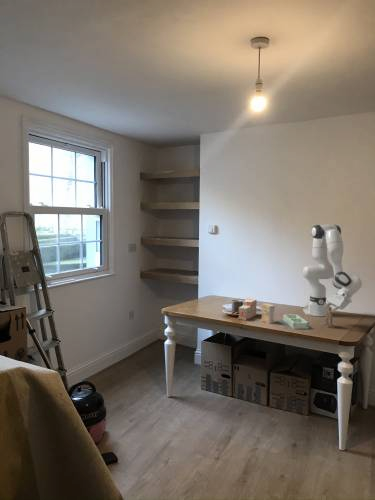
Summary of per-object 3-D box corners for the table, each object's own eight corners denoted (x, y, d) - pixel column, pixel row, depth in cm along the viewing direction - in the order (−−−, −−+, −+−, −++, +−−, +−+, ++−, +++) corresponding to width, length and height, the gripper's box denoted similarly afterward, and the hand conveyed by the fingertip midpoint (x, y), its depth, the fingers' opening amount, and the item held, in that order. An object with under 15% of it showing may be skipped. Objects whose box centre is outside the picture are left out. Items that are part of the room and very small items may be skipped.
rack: (282, 319, 282) (282, 314, 282) (296, 319, 283) (296, 314, 283) (293, 328, 259) (293, 323, 258) (308, 328, 259) (308, 322, 259)
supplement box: (261, 321, 278) (261, 303, 277) (266, 320, 281) (266, 303, 280) (269, 324, 271) (269, 306, 270) (274, 323, 274) (274, 305, 273)
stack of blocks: (246, 321, 280) (246, 304, 279) (238, 319, 283) (238, 303, 282) (256, 314, 298) (256, 299, 297) (248, 313, 302) (249, 298, 301)
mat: (276, 320, 281) (276, 320, 281) (303, 320, 282) (303, 319, 282) (286, 329, 259) (286, 328, 259) (315, 328, 261) (315, 328, 261)
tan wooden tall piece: (323, 325, 270) (323, 305, 269) (330, 325, 270) (330, 305, 269) (327, 328, 263) (328, 308, 262) (334, 327, 263) (335, 307, 262)
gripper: (333, 290, 276) (319, 303, 276) (347, 295, 255) (332, 310, 255) (339, 296, 276) (325, 309, 276) (353, 302, 256) (338, 316, 256)
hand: (328, 309), depth 266 cm, fingers open, 8 cm apart
